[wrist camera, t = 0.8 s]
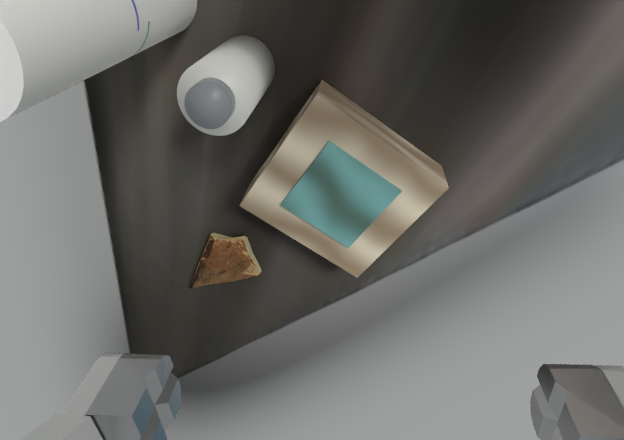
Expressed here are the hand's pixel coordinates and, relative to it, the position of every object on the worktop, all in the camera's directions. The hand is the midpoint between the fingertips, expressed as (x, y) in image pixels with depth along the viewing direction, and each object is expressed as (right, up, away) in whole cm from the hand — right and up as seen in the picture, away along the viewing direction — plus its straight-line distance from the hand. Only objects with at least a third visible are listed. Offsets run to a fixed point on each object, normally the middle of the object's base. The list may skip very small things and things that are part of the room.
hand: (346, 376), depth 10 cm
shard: (-12, -2, +50) cm, 51 cm away
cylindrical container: (-15, +25, +32) cm, 43 cm away
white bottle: (-7, +19, +34) cm, 40 cm away
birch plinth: (+3, +9, +40) cm, 41 cm away
